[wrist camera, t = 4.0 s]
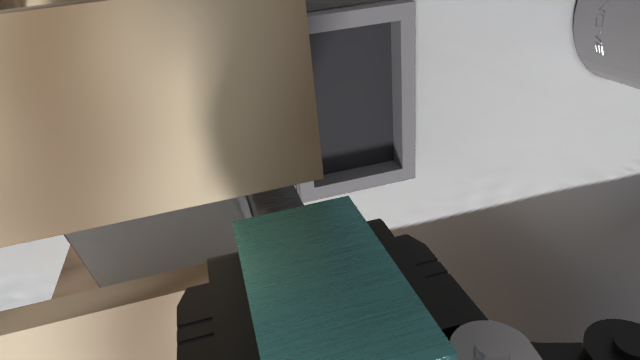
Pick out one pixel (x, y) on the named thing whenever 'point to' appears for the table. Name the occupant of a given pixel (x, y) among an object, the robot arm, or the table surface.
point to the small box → (159, 241)
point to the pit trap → (363, 96)
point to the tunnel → (140, 145)
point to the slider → (328, 285)
